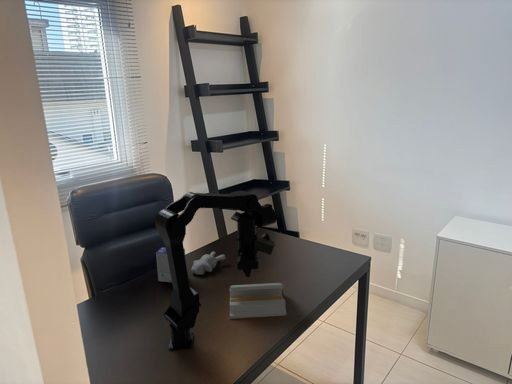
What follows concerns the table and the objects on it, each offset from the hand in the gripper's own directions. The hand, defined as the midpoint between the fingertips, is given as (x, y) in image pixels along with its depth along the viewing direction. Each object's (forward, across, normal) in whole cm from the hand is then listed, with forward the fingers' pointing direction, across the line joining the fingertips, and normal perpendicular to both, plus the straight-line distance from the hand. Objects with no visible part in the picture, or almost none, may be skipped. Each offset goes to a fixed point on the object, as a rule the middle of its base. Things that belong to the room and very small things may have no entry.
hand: (248, 276), depth 120 cm
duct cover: (+6, +3, -3) cm, 7 cm away
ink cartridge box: (+12, +23, +29) cm, 39 cm away
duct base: (+12, +4, -3) cm, 13 cm away
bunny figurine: (+12, +31, +16) cm, 37 cm away
